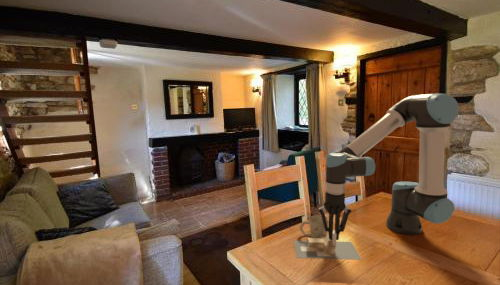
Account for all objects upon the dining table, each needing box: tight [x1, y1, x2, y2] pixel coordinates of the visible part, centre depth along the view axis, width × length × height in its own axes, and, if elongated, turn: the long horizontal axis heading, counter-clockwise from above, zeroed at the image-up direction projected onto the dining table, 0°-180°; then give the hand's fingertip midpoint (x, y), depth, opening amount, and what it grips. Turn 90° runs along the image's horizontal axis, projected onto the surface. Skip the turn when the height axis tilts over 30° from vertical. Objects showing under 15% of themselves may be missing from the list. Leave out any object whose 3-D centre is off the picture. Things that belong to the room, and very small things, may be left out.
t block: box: [307, 234, 335, 257], centre depth 106 cm, size 10×10×4 cm
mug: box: [299, 214, 329, 238], centre depth 117 cm, size 8×13×10 cm, turn 78°
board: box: [293, 240, 363, 261], centre depth 107 cm, size 25×13×2 cm, turn 86°
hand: (333, 246), depth 106 cm, fingers closed
